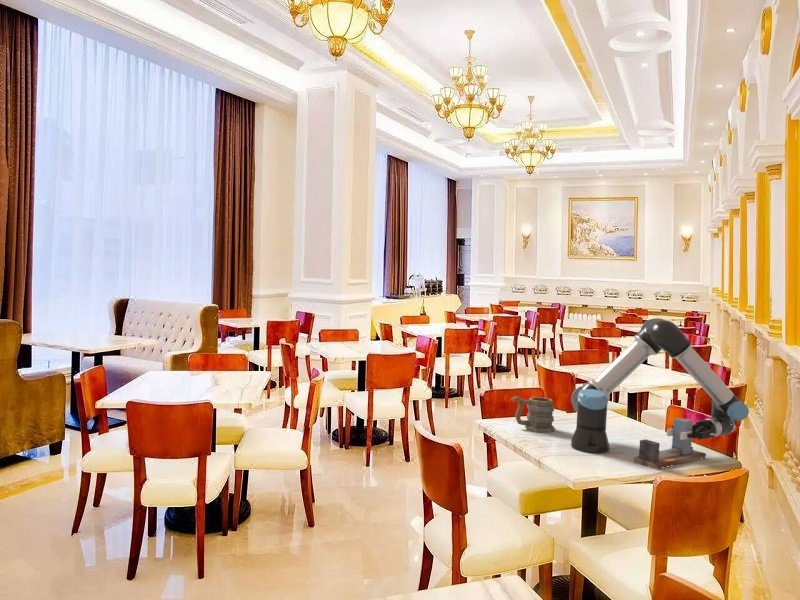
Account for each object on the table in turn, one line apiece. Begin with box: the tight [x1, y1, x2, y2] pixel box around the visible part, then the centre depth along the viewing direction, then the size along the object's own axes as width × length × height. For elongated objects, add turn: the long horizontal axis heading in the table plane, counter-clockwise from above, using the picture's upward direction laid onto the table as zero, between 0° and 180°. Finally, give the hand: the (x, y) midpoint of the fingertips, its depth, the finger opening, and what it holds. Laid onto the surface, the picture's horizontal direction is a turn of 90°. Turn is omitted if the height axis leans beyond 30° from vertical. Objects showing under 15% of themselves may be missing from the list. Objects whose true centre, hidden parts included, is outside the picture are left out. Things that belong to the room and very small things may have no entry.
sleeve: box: [670, 417, 694, 455], centre depth 245 cm, size 5×5×13 cm
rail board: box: [633, 439, 707, 470], centre depth 241 cm, size 10×32×9 cm, turn 123°
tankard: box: [510, 395, 556, 434], centre depth 282 cm, size 20×13×15 cm, turn 89°
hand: (674, 434), depth 242 cm, fingers closed on sleeve, 5 cm apart
